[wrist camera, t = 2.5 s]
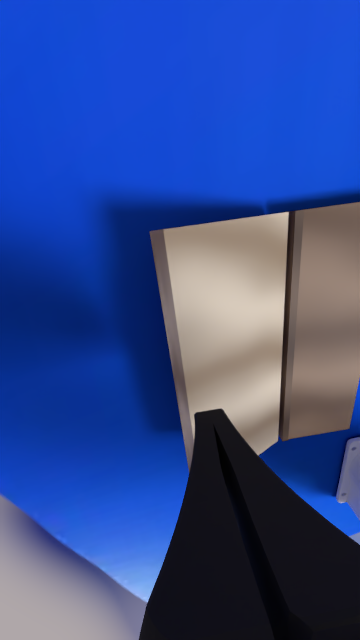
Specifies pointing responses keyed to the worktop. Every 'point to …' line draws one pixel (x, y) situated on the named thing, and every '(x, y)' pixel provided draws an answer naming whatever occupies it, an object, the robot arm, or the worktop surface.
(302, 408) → the walnut strip
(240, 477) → the robot arm
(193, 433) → the maple plank
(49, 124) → the worktop surface
